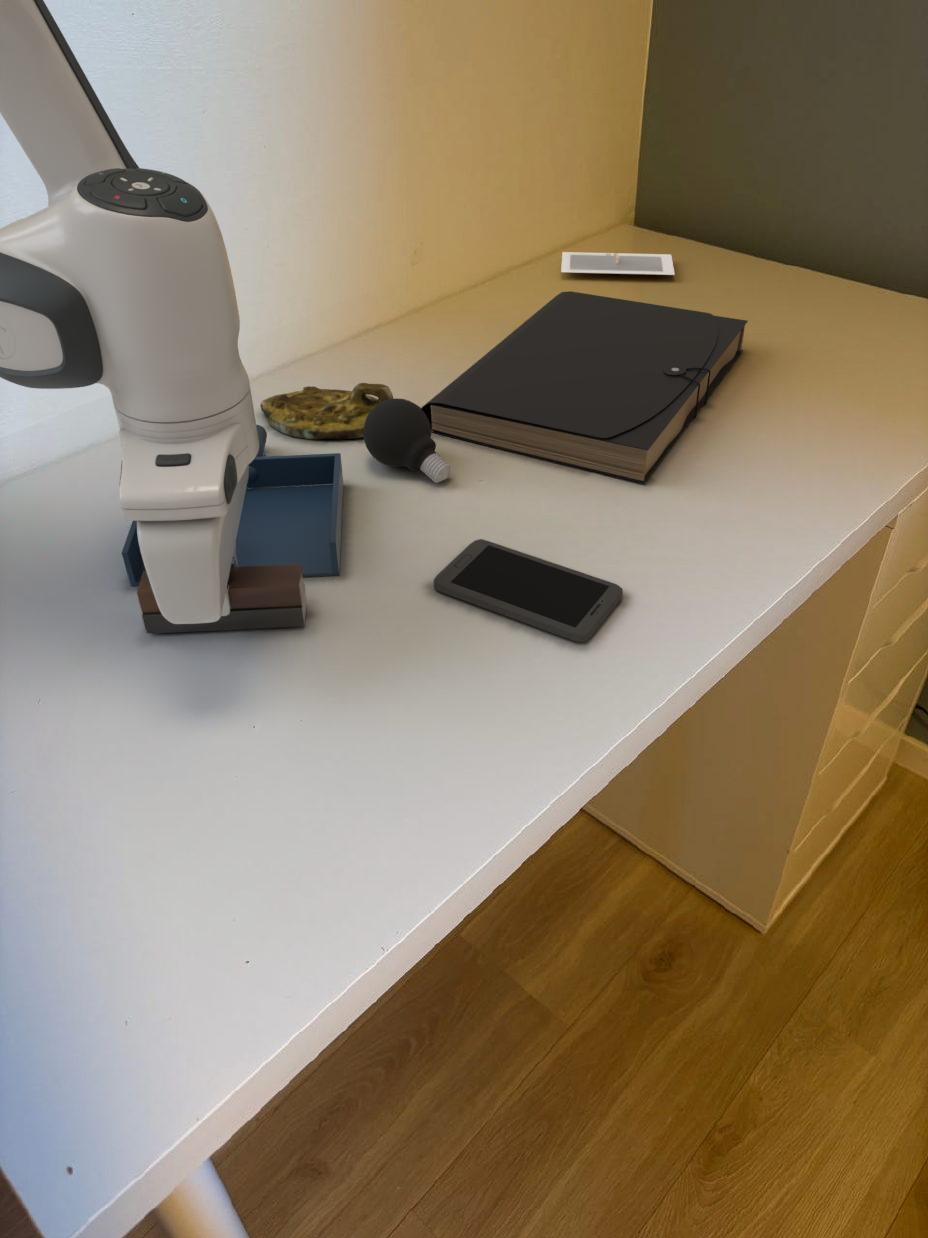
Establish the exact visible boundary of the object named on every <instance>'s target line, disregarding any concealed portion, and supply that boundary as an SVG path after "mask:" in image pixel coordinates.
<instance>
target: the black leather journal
mask: <svg viewBox="0 0 928 1238" xmlns="http://www.w3.org/2000/svg"><path fill="white" fill-rule="evenodd" d="M748 322H749V321H748V320H746V319H740V318H733V317H726V316H720V315H715V314H712V313H710V312H704V311H700V310H699V311H698V310H693V309H686V308H679V307H673V306H667V305H661V304H654V303H648V302H641V301H635V300H629V299H624V298H623V299H621V298H616V297H611V296H603V295H597V294H591V293H584V292H578V291H570V290H569V291H561V292H559V293H558V294H557V295H555V296H554V297H553V298H552V299H550V300H549V301H548V302H547V303H545V304H544V305H543V306H542V307H541V308H540V309H538V310H537V311H536V312H534V314H532V315H531V316H530V317H529V318H528V319H527V320H525V321H524V322H523V323H522V324H520V325H519V326H518V327H516V329H514V330H513V331H512V332H511V333H510V334H508V335H506V337H505V338H504V339H502V340H501V341H500V342H498V344H496V345H495V346H494V347H493V348H491V349H490V350H489V351H488V352H486V354H484V355H483V356H482V357H480V358H479V359H478V360H477V361H475V363H473V364H472V365H471V366H470V367H469V368H467V369H466V370H465V371H464V372H463V373H461V374H460V375H459V376H457V378H455V379H454V380H453V381H452V382H450V383H449V384H448V385H447V386H445V387H444V388H443V389H442V390H441V391H440V392H438V393H437V394H436V395H435V396H434V397H433V398H431V399H430V400H429V401H427V402H426V403H425V404H424V405H423V406H422V407H420V408H421V409H422V410H423V411H424V413H425V414H426V416H427V418H428V420H429V423H430V427H431V432H432V433H434V434H436V435H442V436H445V437H449V438H453V439H458V440H461V441H466V442H469V443H474V444H479V445H483V446H486V447H491V448H495V449H499V450H502V451H507V452H511V453H516V454H521V455H524V456H528V457H532V458H536V459H541V460H544V461H549V462H554V463H558V464H562V465H567V466H569V467H573V468H579V469H583V470H587V471H591V472H595V473H599V474H604V475H607V476H612V477H616V478H620V479H624V480H628V481H634V482H636V483H641V484H646V483H647V482H648V480H649V478H650V477H651V476H652V475H653V473H654V472H655V471H656V469H657V468H658V466H659V465H660V464H661V462H662V461H663V460H664V458H665V457H666V456H667V454H668V453H669V452H670V450H672V447H673V446H674V445H675V443H676V442H677V441H678V439H679V438H680V437H681V435H682V434H683V432H684V431H685V430H686V429H687V427H688V426H689V424H691V422H692V421H693V420H694V419H697V415H698V412H699V411H700V410H701V409H702V407H703V406H704V405H707V402H708V399H709V398H710V396H711V395H712V394H713V392H714V391H715V389H716V388H717V387H718V385H719V384H720V383H721V381H722V380H723V379H724V377H725V376H726V375H727V373H728V372H729V370H730V369H731V368H732V367H733V365H734V364H735V362H737V360H738V359H739V357H740V355H742V353H743V352H744V349H743V341H744V335H745V328H746V327H745V326H746V324H748Z"/></svg>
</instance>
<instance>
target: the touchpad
mask: <svg viewBox="0 0 928 1238" xmlns="http://www.w3.org/2000/svg"><path fill="white" fill-rule="evenodd" d="M561 252H562V253H561V254H562V256H561V265H560V266H561V267H560V273H570V274H571V273H572V274H573V273H574V274H575V273H576V274H577V273H578V274H613V275H614V274H619V275H658V276H661V275H663V276H675V275H676V274H675V268H674V263H673V257H672V254H668V253H625V252H622V253H619V252H579V251H578V252H575V251H571V252H570V251H561Z"/></svg>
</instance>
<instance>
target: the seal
mask: <svg viewBox="0 0 928 1238" xmlns="http://www.w3.org/2000/svg"><path fill="white" fill-rule="evenodd" d="M373 396H374V397H373ZM376 397H377V398H376ZM389 399H394V394H393V392H392V390H391V388H390V387H389V386H388V385H386V384H383V383H368V382H360V383H359V382H358V383H357V384H356V385H354V386H353V389H352V390H346V389H345V390H344V389H330V388H329V389H328V388H319V387H317V386H310V385H307V386H303V388H302V390H296V391H293V392H288V393H281V394H275V395H272V396H269V397H268V398H265V399H263V400H262V401H261V402H260V405H259V406H260V410H261V412H262V413H263V414H264V415H265V417H266V418H267V421H268V424H269V425H270V426H271V427H272V428H273V429H276V430H277V431H278V432H280V433H283V434H285V435H288V436H290V437H294V438H299V439H308V440H322V439H323V440H326V439H329V440H330V439H331V440H332V439H333V440H334V439H335V440H336V439H337V440H345V439H360V438H364V435H363V430H364V424H365V420H366V418H367V416H368V414H369V413H370V411H371V410H372V409H373V408H374V407H375V406H376V405H378V404H379V403H381V402H383V401H385V400H389Z"/></svg>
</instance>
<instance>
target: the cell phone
mask: <svg viewBox="0 0 928 1238" xmlns="http://www.w3.org/2000/svg"><path fill="white" fill-rule="evenodd" d="M432 582H433V588H434V589H435V590H436V591H438V592H441V593H443V594H445V595H448V596H451V597H454V598H456V599H459V600H463V601H464V602H467V603H470V604H472V605H476V606H477V607H481V608H483V609H487V610H489V611H491V612H495V613H497V614H500V615H502V616H505V617H507V618H511V619H512V620H513V619H514V620H516V621H519V622H521V623H525V624H527V625H530V626H532V627H535V628H538V629H541V630H543V631H546V632H548V633H551V634H554V635H556V636H559V637H562V638H565V639H567V640H570V641H573V642H576V643H578V642H579V643H581V642H582V643H584V642H586V641H587V640H588V639H590V638H591V637H592V636H593V635H594V633H595V632H596V631H597V630H598V628H599V627H600V626H601V625H602V624H603V622H604V621H605V619H606V618H607V617H608V616H609V615H610V613H611V612H612V611H613V610H614V608H615V607H616V606H617V604H618V603H619V602H620V601H621V599H622V598H623V591H624V590H623V588H622V587H621V586H619V585H618V584H617V583H614V582H611V581H608V580H605V579H602V578H599V577H596V576H595V575H594V576H593V575H591V574H588V573H584V572H581V571H578V570H575V569H573V568H570V567H566V566H563V565H561V564H559V563H554V562H553V561H552V562H551V561H549V560H545V559H543V558H540V557H537V556H535V555H531V554H528V553H525V552H522V551H519V550H516V549H513V548H510V547H507V546H504V545H501V544H499V543H495V542H492V541H489V540H486V539H482V538H479V539H476V540H473V541H472V542H471V543H470V544H468V545H467V546H466V547H465V548H464V549H463V550H461V552H460V553H459V554H458V555H456V557H454V558H453V560H452V561H450V562H449V563H448V564H447V565H446V566H445V567H444V568H443V569H442V570H441V571H440V572H439V573H438V574H437V575H435V577H434V579H433V581H432Z"/></svg>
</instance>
